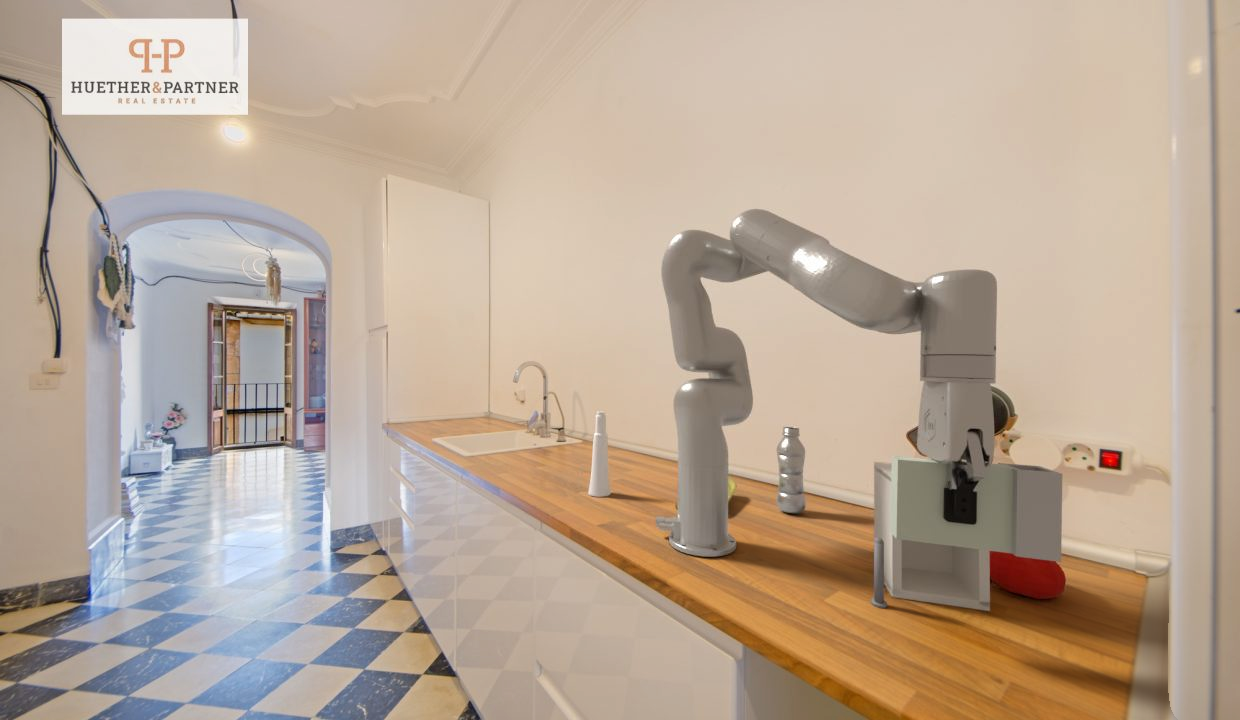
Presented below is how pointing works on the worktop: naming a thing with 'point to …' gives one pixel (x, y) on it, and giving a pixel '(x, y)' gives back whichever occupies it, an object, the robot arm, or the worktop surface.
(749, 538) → the worktop surface
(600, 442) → the cosmetic bottle
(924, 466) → the storage box
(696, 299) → the robot arm
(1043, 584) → the tomato
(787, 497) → the plastic bottle
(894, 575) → the cabinet
